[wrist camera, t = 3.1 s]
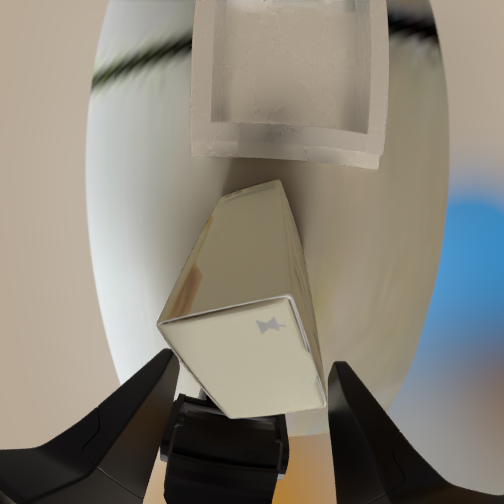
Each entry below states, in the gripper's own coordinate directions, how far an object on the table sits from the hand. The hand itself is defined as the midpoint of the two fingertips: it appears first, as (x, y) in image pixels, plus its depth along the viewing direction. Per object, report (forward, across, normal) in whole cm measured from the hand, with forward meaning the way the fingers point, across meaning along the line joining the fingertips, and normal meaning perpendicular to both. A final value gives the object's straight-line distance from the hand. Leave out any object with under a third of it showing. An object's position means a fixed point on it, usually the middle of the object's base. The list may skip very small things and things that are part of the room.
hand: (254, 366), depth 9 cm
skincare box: (+12, 0, 0) cm, 12 cm away
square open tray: (+12, -1, -12) cm, 17 cm away
